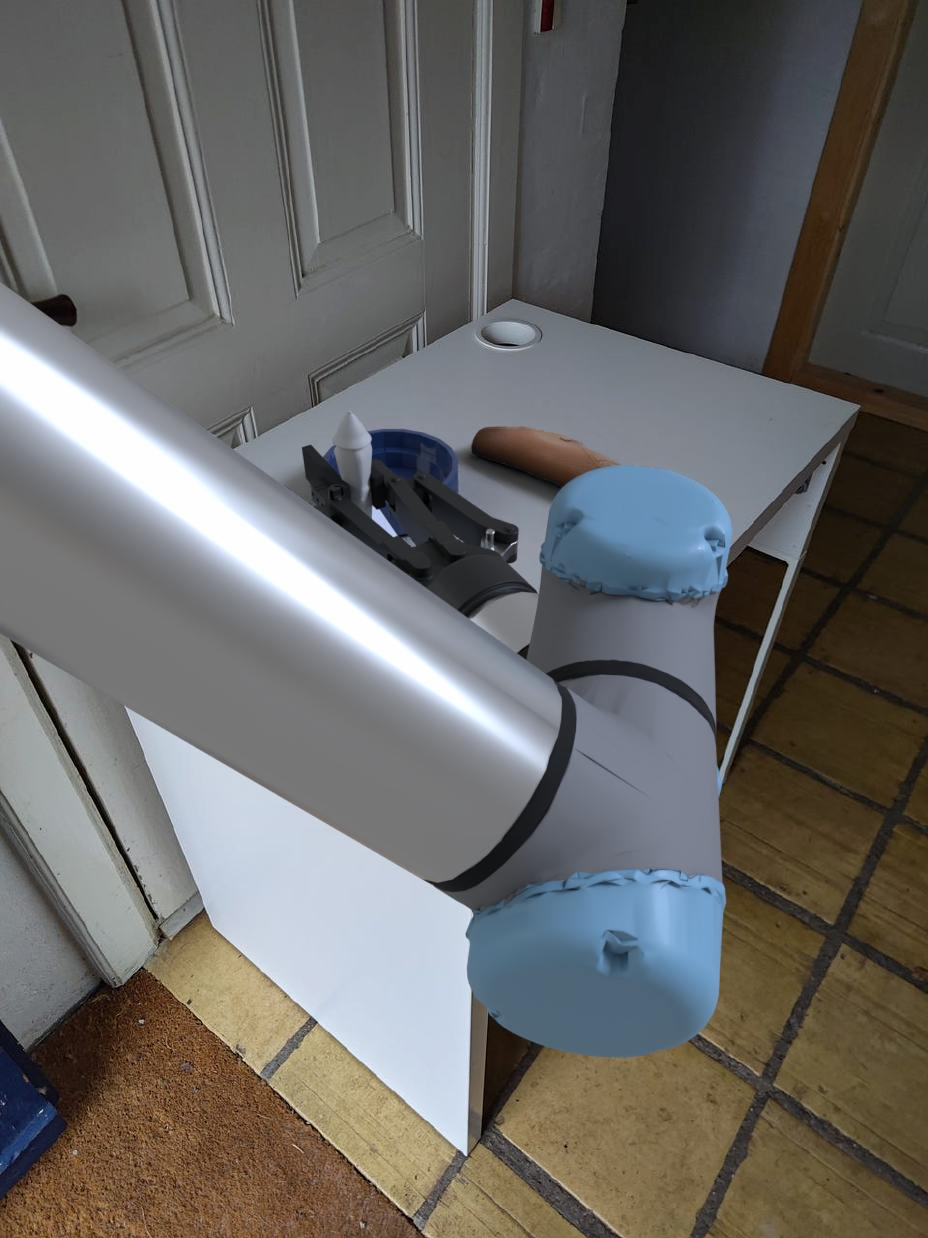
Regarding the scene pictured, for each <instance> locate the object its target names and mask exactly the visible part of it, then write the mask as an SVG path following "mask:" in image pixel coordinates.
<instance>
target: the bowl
mask: <svg viewBox="0 0 928 1238" xmlns="http://www.w3.org/2000/svg"><path fill="white" fill-rule="evenodd" d="M366 431H367V430H366ZM367 432H368V433H369V434H370V435H371V439H372V440H371V442H370V443H371V447H372V460H375V459H377V460H379V461H382V462H383V463H384V464H385V466H387V467H388V468H389V469H390V470H391V471H392V472H393V473H394V474H395V475H400V476H402V477H403V478H404V479H414V475H415V474H416V473H418V472H426V473H429V474H430V475H432V476H433V477H434V478H436V479H437V480H439V481H440V482H442V483H443V484H445V485H446V486H447V487H449V488H450V489H452V490H453V491H455V492H456V493H458V494H459V457H458V455H457V454H456V452H455V451H454V449H453V448H452V447H451V446H450V444H447V442H446V441H443V440H442V439H440V438H439V437H436V436H435V435H431V434H428V433H426V432H423V431H417V430H412V429H406V428H379V429H373V430H368V431H367ZM334 450H335V445H334V444H332V446H330V448H329V449H328V450H327V452H325V454H323V456H322V457H323V458H324V459H325V460H326V461H327V462H328V463H329V464H330V465H331V467H332V468H333V469H334V470H335V471H336V472H337V473H338V474H339V475H340V472H339V469H338V466H337V461H336V457H335V452H334ZM372 460H371V461H372ZM340 476H341V475H340ZM385 501H386V500H385ZM380 511H381V512H382V514H383V515H384V517H385V518H386V520H387V521H388V523H389V524H390V525H391V527H392V528H393V530H394V531H395V533H396V534H397V536H401V535H405V534H407V533H406V532H405V530H404V529H403V528H402V526H401V525H400V524H399V522H398V521H397V519H396V518H395V517H393V514H391V518H390V517H389V506H388V502H387V501H386V507H384V508H381V509H380Z"/></svg>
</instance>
